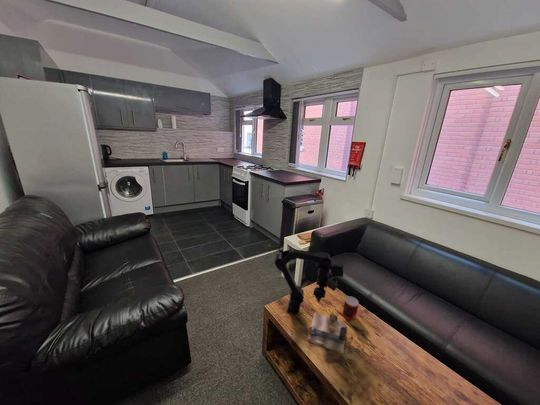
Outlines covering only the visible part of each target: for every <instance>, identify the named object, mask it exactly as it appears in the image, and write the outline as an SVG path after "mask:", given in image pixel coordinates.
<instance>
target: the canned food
mask: <svg viewBox="0 0 540 405" xmlns="http://www.w3.org/2000/svg"><path fill="white" fill-rule="evenodd" d="M358 310H359V300H358V299H357V298H356V297H354V296H351V295H350V296H349V295H348V296H346V297H345V298H344V304H343V309H342V316H343V318H344V319H346V320H348V321H351V322H352V321H355V319H356V317H357V313H358Z"/></svg>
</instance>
